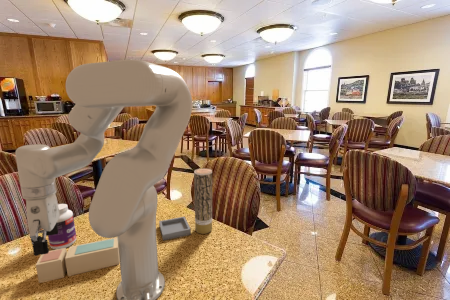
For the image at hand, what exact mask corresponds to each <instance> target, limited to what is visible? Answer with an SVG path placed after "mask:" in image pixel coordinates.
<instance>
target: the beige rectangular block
mask: <svg viewBox="0 0 450 300" xmlns="http://www.w3.org/2000/svg"><path fill="white" fill-rule="evenodd" d="M65 261H66V268H67V270H66V272H67V276H68V277H70V276H75V275H78V274H83V273H87V272H91V271H96V270H100V269H104V268H108V267H112V266H116V265H120V259H119V249H118V238H117V237H114V238H106V239H102V240H101V239H100V240H96V241H91V242H87V243H81V244H77V245H70V246H68V250H67V255H66V257H65Z"/></svg>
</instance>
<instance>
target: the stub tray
mask: <svg viewBox="0 0 450 300" xmlns="http://www.w3.org/2000/svg"><path fill="white" fill-rule="evenodd" d="M158 224H159V225H158V226H159V229H160V230H159V231H160V234H161V238H162V241H167V240H172V239H177V238H181V237H186V236H191V235H192V230H191V229H192V228H191V226H190V225H189V222H188V221H187V218H186V217H185V216H180V217H174V218H170V219H164V220H159V222H158Z"/></svg>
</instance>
